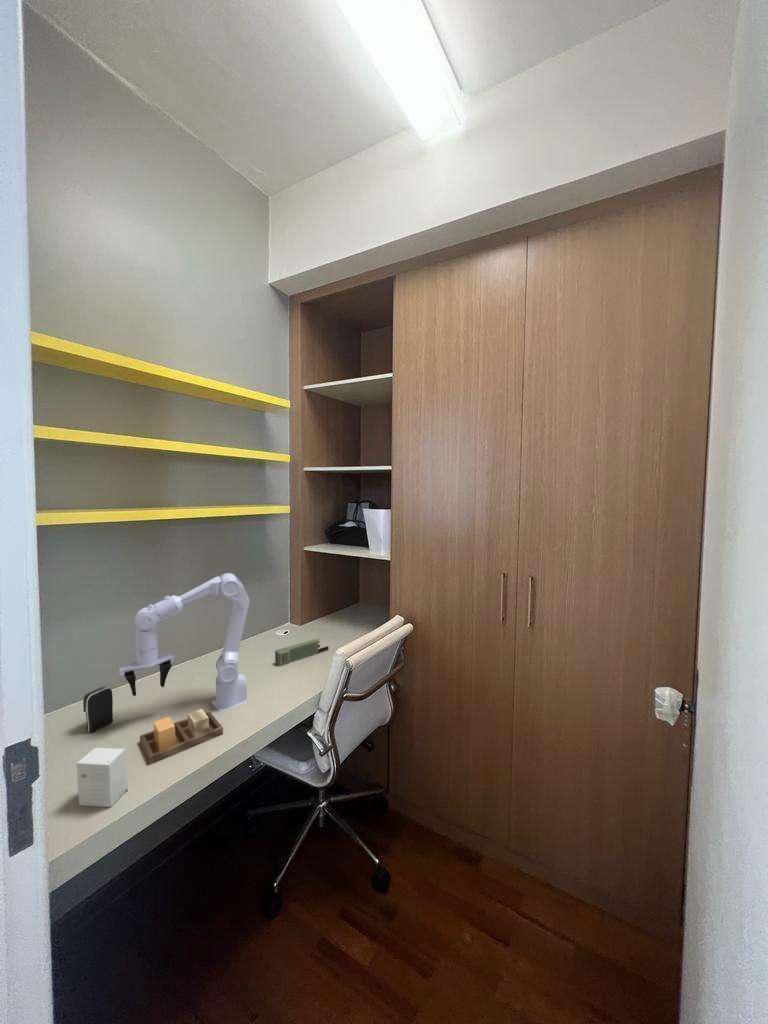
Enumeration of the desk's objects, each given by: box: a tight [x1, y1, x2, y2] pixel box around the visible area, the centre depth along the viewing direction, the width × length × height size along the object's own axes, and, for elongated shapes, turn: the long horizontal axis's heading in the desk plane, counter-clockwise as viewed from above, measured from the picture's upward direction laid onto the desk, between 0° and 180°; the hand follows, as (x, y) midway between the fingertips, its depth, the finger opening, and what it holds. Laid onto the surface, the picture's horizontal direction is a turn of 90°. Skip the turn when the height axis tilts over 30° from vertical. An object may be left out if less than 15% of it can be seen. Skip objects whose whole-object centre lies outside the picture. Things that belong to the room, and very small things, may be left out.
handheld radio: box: [274, 637, 329, 667], centre depth 169 cm, size 7×3×25 cm
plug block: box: [153, 716, 176, 751], centre depth 111 cm, size 4×6×6 cm, turn 43°
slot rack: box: [139, 710, 224, 766], centre depth 114 cm, size 19×12×3 cm, turn 133°
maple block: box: [187, 708, 209, 738], centre depth 117 cm, size 4×6×5 cm, turn 43°
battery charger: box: [82, 686, 114, 734], centre depth 120 cm, size 7×4×11 cm, turn 155°
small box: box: [76, 747, 129, 808], centre depth 93 cm, size 8×6×10 cm
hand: (148, 690), depth 122 cm, fingers open, 7 cm apart
